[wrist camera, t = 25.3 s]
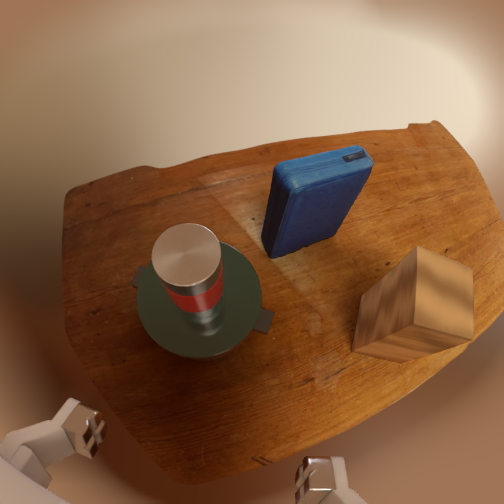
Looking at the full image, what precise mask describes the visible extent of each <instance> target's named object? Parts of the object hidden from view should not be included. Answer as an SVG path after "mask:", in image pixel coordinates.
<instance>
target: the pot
mask: <svg viewBox="0 0 504 504" xmlns="http://www.w3.org/2000/svg"><path fill="white" fill-rule="evenodd" d="M219 243H220V247H221V258H222V266H223V283H224V288H223V289H224V296H223V301H222V303H221V305H220V307H219V308H218V310H217V311H216V312H214V313H213V314H212V315H210V316H207V317H204V318H191V317H188V316H186V315H184V314H183V313H181V312H180V311H179V310H178V309H177V307H176V306H175V304H174V303H173V301H172V300H171V298H170V296H169V295H168V293H167V291H166V290H165V288H164V286H163V285H162V283H161V281H160V279H159V277H158V275H157V273H156V271H155V269H154V267H153V264H152V260H151V261H150V263H149V264H148V265H147V267H146V268H145V267H142V266H139V268H138V270H137V272H136V274H135V276H134V278H133V280H132V282H131V285H132V286H133V287H134V288H137V309H138V314H139V317H140V320H141V322H142V325H143V327H144V328H145V330H146V331H147V333H148V334H149V335H150V337H151V338H152V339H153V340H154V341H155V342H156V343H157V344H159V345H160V346H161V347H163V348H164V349H166V350H167V351H169V352H171V353H174V354H176V355H179V356H182V357H185V358H187V359H190V360H194V361H201V362H208V361H215V360H219V359H222V358H224V357H226V356H228V355H230V354H232V353H233V352H234V351H236V350H237V349H238V348H239V347H240V346H241V345H242V343H243V342H244V341H245V339H246V338H247V336H248V334H249V333H250V332H251V330H252V331H255V332H258V333H262V334H265V335H267V334H268V331H269V328H270V325H271V321H272V318H273V315H274V312H273V311H270V310H266V309H263V308H261V301H262V294H261V286H260V282H259V279H258V276H257V274H256V271H255V269H254V268H253V266H252V265H251V263H250V262H249V261H248V260H247V258H246V257H245V256H244V255H243V254H241V253H240V252H239V251H238V250H236V249H235V248H233V247H231V246H230V245H228V244H225V243H223V242H220V241H219Z"/></svg>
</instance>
